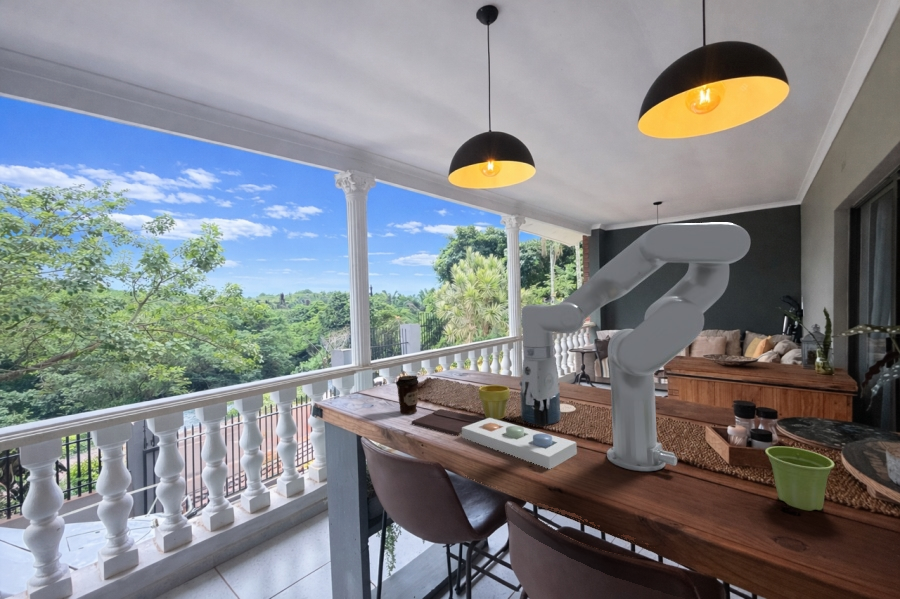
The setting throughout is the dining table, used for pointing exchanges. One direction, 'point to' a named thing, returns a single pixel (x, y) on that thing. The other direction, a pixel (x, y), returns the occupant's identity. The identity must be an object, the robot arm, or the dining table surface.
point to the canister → (528, 411)
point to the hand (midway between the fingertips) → (541, 423)
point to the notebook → (447, 421)
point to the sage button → (515, 432)
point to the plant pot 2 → (800, 476)
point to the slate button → (542, 440)
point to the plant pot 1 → (494, 400)
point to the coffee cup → (407, 394)
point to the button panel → (520, 443)
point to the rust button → (491, 426)
